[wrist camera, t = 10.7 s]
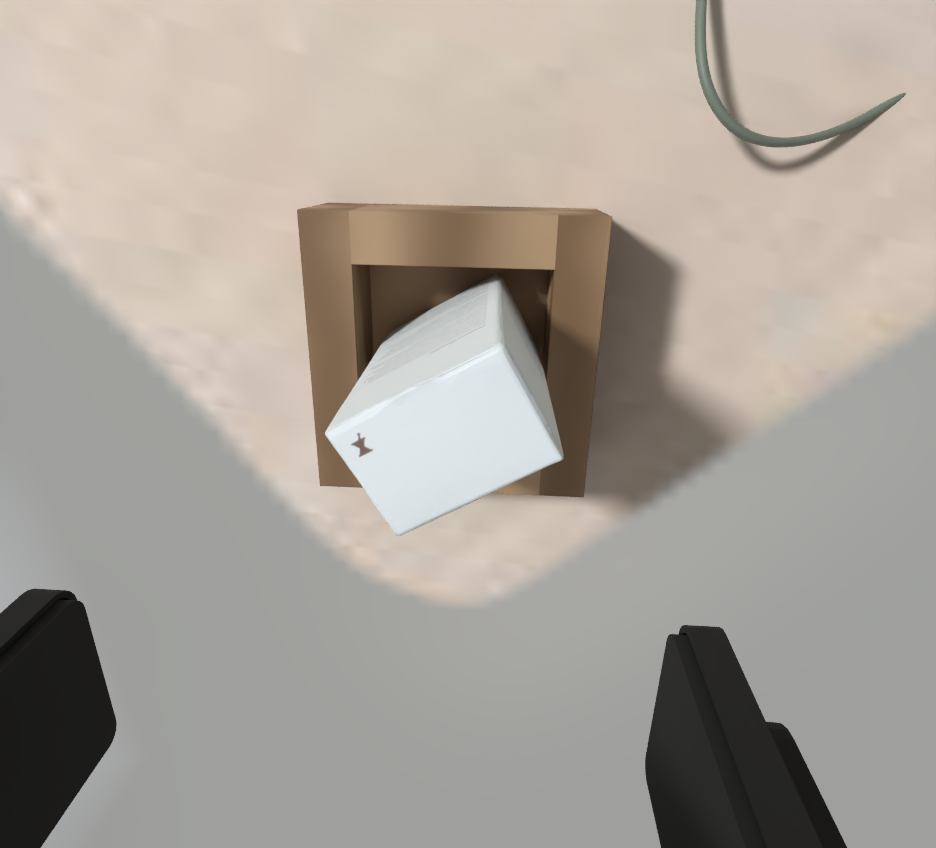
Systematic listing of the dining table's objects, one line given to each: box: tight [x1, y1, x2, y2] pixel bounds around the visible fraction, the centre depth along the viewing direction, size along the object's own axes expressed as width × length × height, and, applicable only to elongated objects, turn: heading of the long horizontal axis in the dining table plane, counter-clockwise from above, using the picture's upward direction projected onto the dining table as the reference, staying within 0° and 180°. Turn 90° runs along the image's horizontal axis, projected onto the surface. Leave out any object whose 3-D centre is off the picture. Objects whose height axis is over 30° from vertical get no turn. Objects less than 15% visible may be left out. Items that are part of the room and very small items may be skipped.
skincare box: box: [325, 273, 564, 536], centre depth 24 cm, size 6×4×12 cm
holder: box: [297, 203, 612, 497], centre depth 28 cm, size 12×12×4 cm
